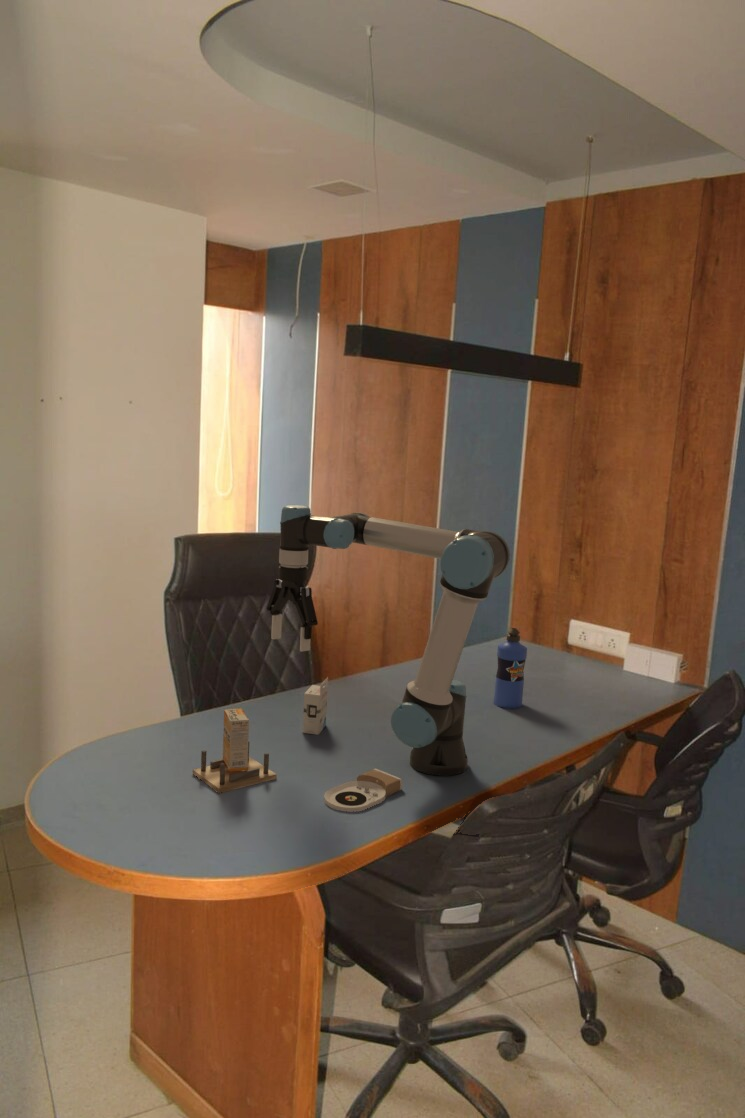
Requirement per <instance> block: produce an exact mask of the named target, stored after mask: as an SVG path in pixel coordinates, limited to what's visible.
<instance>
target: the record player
mask: <svg viewBox="0 0 745 1118" xmlns="http://www.w3.org/2000/svg"><path fill="white" fill-rule="evenodd" d="M401 789H402V790H403V779H402V778H401V777H398V776H397V775H396V776H395V775H393V774H390V773H388V772H386V771H383V770H380V769H378V768H373V769H371V770H368V771H366V772H364V773H362V774H359V775H358V776H357V778H356V780H351V781H347V782H344V783H341V784H339V785H336V786H334V787H332V788H329V789H328V790H327V791H325V792H324V795H323V801H324V803H325V805H326V806H327V807H329V808H331V809H333V810H336V811H339V810H341V811H340V812H346V811H347V812H348V813H353V811H354V813H355V812H356V811H357V812H362V810H363V811H366V810H368V809H371V808H372V806H373V807H375V806H377V805H378V804H379V805H380V804H381V803H383V802H384V801H385V800H386V797H388V795H389V796H391V795H392V793H393V794H395V793H397V792H400V791H401ZM394 792H395V793H394ZM390 794H391V795H390ZM385 796H386V797H385ZM382 801H383V802H382ZM376 804H377V805H376ZM374 805H375V806H374ZM370 807H371V808H370ZM367 808H368V809H367ZM365 809H366V810H365Z"/></svg>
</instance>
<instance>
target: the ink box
mask: <svg viewBox="0 0 745 1118" xmlns="http://www.w3.org/2000/svg"><path fill="white" fill-rule="evenodd" d="M328 686H329V676H327V677H326V678H325V679H324V680H323V681H322V682H321V684H320V685H318V684H317V685H315V684H312V685H311V686H310V687H309V688H308V689H307V690H306V691H305V692H304V694H303V712H302V713H303V717H302V733H303V734H310V735H311V734H312V735H320V734H321V732H322V731H323V729H325V726H326V724H327V708H328V707H327V706H328V693H329V692H328V689H329V687H328Z"/></svg>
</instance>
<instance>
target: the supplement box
mask: <svg viewBox="0 0 745 1118" xmlns="http://www.w3.org/2000/svg"><path fill="white" fill-rule="evenodd" d="M248 717H249V716H247V714H246V713H245V711H244V710H243V708H229V709H223V738H222V739H223V740H222V741H223V744H222V745H223V747H222V759H223V760H224V762H225V763H226V765H227V767H228V770H229V771H230V772H233V771H243V770H248V741H249V737H250V736H249V735H250V733H249V732H250V719H249V718H248Z"/></svg>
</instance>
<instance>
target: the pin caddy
mask: <svg viewBox="0 0 745 1118" xmlns="http://www.w3.org/2000/svg"><path fill="white" fill-rule="evenodd" d="M200 756H201V757H200V761H201V762H200V767H198V768H195V769H192V775H193V774H194V775H195V777H196V776H197V777H198V778H197V777H196V778H197V779H198V780H200V779H201V780H202V781H201V780H200V781H201V782H203V781H204V782H205V783H206V784H205V783H204V782H203V783H204V784H205V785H207V784H208V785H209V786H210V789H212V788H213V789H212V790H213V791H215V790H216V791H217V792H216V791H215V792H216V793H218V794H222V793H226V792H229V791H233V790H238V789H242V788H245V787H249V786H254V785H257V784H262V783H265V782H269V781H273V780H277V773H275V771H272V770H271V769H269V764H270V763H269V761H270V753H269V752H264V754H263V764H261V763H260V762H258V761H257V760H255V759H254V758H252V757H251V756H250V741H249V740H248V770H243V771H233V772H230V771H229V770H228V767H227V765H226V763H225V762H224V760H223V758H220V759H214V760H210V765H207V750H201V755H200ZM194 775H193V776H194ZM208 785H207V786H208ZM209 786H208V787H209ZM221 792H222V793H221Z"/></svg>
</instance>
